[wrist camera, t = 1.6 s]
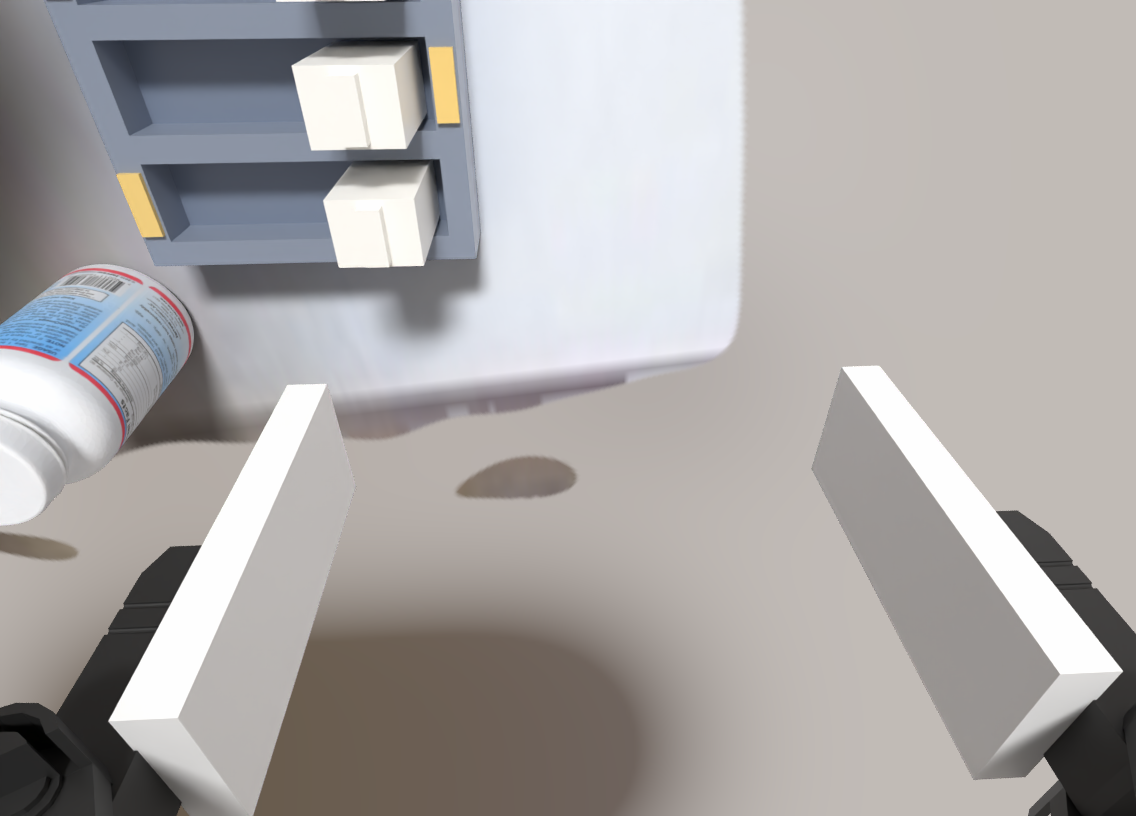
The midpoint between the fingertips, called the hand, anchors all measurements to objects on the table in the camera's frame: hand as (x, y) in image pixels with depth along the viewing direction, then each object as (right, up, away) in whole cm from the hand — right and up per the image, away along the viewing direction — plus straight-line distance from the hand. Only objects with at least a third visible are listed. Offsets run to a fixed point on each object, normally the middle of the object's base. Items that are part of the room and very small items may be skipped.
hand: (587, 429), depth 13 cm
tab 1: (-7, +13, +10) cm, 18 cm away
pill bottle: (-21, +5, +18) cm, 28 cm away
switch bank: (-11, +13, +11) cm, 21 cm away
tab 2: (-7, +10, +13) cm, 18 cm away
